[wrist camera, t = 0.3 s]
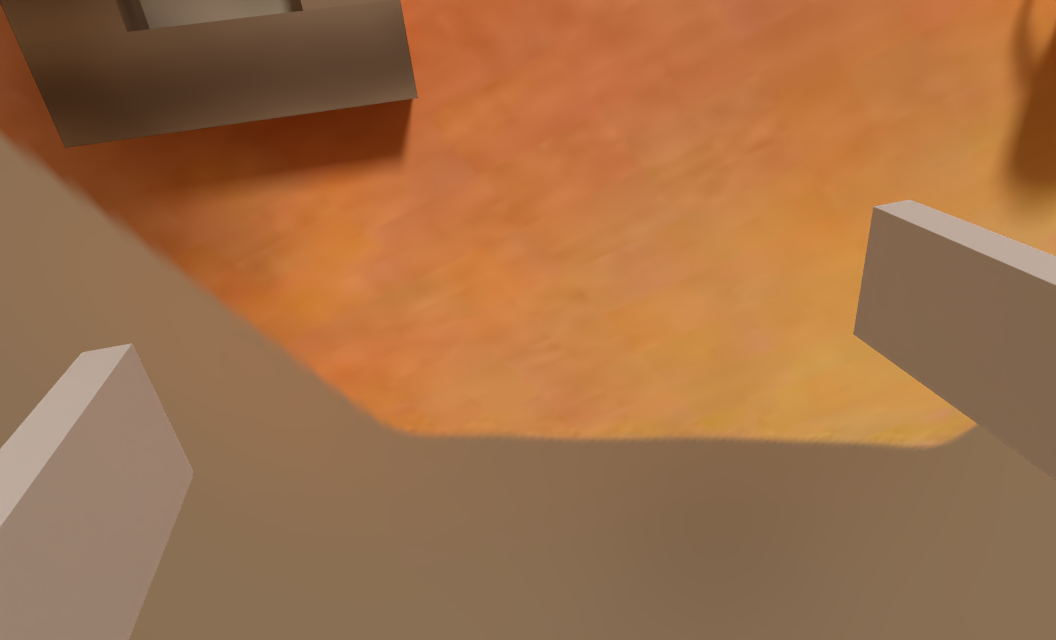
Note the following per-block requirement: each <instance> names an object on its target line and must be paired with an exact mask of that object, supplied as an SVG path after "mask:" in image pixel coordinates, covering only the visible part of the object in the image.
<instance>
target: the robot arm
mask: <svg viewBox="0 0 1056 640" xmlns="http://www.w3.org/2000/svg"><path fill="white" fill-rule="evenodd" d="M854 335H855V336H857V337H858V338H860V339H861V340H862V341H864V342H865V343H866V344H868V345H869V346H871V347H872V348H873V349H875V350H876V351H878V352H879V353H880V354H882V355H883V356H884V357H886V358H887V359H889V360H890V361H891V362H893V363H894V364H896V365H897V366H898V367H900V368H901V369H902V370H904V371H905V372H907V373H908V374H909V375H911V376H912V377H914V378H915V379H916V380H918V381H919V382H921V383H922V384H923V385H925V386H926V387H927V388H929V389H930V390H932V391H933V392H934V393H936V394H937V395H939V396H940V397H941V398H943V399H944V400H945V401H947V402H948V403H950V404H951V405H952V406H954V407H955V408H957V409H958V410H959V411H961V412H962V413H963V414H965V415H966V416H968V417H969V418H970V419H972V420H973V421H975V422H976V423H977V424H979V425H980V426H981V427H983V428H984V429H986V430H987V431H989V432H990V433H991V434H993V435H994V436H995V437H997V438H998V439H1000V440H1001V441H1002V442H1004V443H1005V444H1007V445H1008V446H1009V447H1011V448H1013V450H1015V451H1016V452H1018V453H1019V454H1020V455H1022V456H1023V457H1024V458H1026V459H1027V460H1029V461H1030V462H1032V463H1033V464H1034V465H1035V466H1037V467H1038V468H1040V469H1041V470H1042V471H1044V472H1045V473H1047V474H1048V475H1049V476H1051V477H1052V478H1054V479H1055V480H1056V256H1054V255H1051V254H1049V253H1046V252H1044V251H1041V250H1039V249H1036V248H1033V247H1031V246H1028V245H1026V244H1023V243H1021V242H1018V241H1015V240H1013V239H1010V238H1008V237H1005V236H1003V235H1000V234H997V233H995V232H992V231H990V230H987V229H985V228H982V227H979V226H977V225H974V224H972V223H969V222H967V221H964V220H961V219H959V218H956V217H954V216H951V215H949V214H946V213H943V212H941V211H938V210H936V209H933V208H931V207H928V206H925V205H923V204H920V203H918V202H915V201H913V200H906V201H901V202H895V203H890V204H885V205H879V206H874V207H873V214H872V220H871V226H870V233H869V239H868V245H867V252H866V258H865V264H864V271H863V277H862V283H861V290H860V296H859V302H858V309H857V315H856V321H855V328H854ZM193 475H194V472H193V470H192V468H191V466H190V463H189V461H188V459H187V457H186V455H185V453H184V451H183V449H182V447H181V444H180V442H179V440H178V438H177V436H176V434H175V432H174V430H173V428H172V425H171V423H170V421H169V419H168V417H167V415H166V413H165V411H164V409H163V407H162V405H161V402H160V400H159V398H158V396H157V394H156V392H155V390H154V388H153V385H152V383H151V381H150V379H149V377H148V375H147V373H146V371H145V369H144V367H143V364H142V362H141V360H140V358H139V356H138V354H137V352H136V350H135V348H134V345H133V344H132V343H131V344H125V345H120V346H114V347H109V348H103V349H98V350H93V351H87V352H82V353H81V354H80V355H79V357H78V358H77V359H76V360H75V361H74V362H73V363H72V364H71V366H70V367H69V368H68V369H67V371H66V372H65V373H64V374H63V375H62V376H61V378H60V379H59V380H58V381H57V382H56V384H55V385H54V386H53V387H52V388H51V390H50V391H49V392H48V393H47V394H46V395H45V397H44V398H43V399H42V400H41V401H40V403H39V404H38V405H37V406H36V407H35V408H34V410H33V411H32V412H31V413H30V415H29V416H28V417H27V418H26V419H25V420H24V422H23V423H22V424H21V425H20V426H19V427H18V429H17V430H16V431H15V432H14V433H13V435H12V436H11V437H10V438H9V439H8V440H7V442H6V443H5V444H4V445H3V446H2V448H1V449H0V640H129V637H130V635H131V633H132V630H133V628H134V625H135V623H136V620H137V618H138V615H139V612H140V610H141V607H142V605H143V602H144V599H145V597H146V595H147V592H148V590H149V587H150V584H151V582H152V579H153V577H154V574H155V572H156V569H157V567H158V564H159V562H160V559H161V557H162V554H163V552H164V549H165V547H166V544H167V541H168V539H169V536H170V534H171V531H172V528H173V526H174V524H175V521H176V519H177V516H178V514H179V511H180V508H181V506H182V503H183V501H184V498H185V496H186V493H187V491H188V488H189V486H190V483H191V481H192V478H193Z"/></svg>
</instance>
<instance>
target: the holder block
mask: <svg viewBox="0 0 1056 640" xmlns="http://www.w3.org/2000/svg"><path fill="white" fill-rule="evenodd" d="M0 3H1V5H2V8H3V10H4V12H5V14H6V17H7V19H8V21H9V23H10V26H11V28H12V30H13V32H14V35H15V37H16V39H17V41H18V43H19V46H20V48H21V50H22V52H23V55H24V57H25V59H26V61H27V64H28V66H29V68H30V70H31V73H32V75H33V77H34V79H35V81H36V84H37V86H38V88H39V90H40V93H41V95H42V97H43V99H44V102H45V104H46V106H47V108H48V111H49V113H50V115H51V117H52V120H53V122H54V124H55V126H56V128H57V131H58V133H59V135H60V137H61V140H62V142H63V144H64V146H65V148H67V147H74V146H81V145H88V144H96V143H103V142H110V141H117V140H124V139H131V138H138V137H145V136H152V135H159V134H166V133H173V132H181V131H188V130H195V129H202V128H209V127H216V126H223V125H230V124H237V123H244V122H251V121H258V120H265V119H273V118H280V117H287V116H294V115H301V114H308V113H315V112H322V111H329V110H336V109H343V108H350V107H358V106H365V105H372V104H379V103H386V102H393V101H400V100H407V99H414V98H418V96H417V91H416V85H415V80H414V74H413V69H412V63H411V57H410V52H409V46H408V41H407V35H406V30H405V24H404V19H403V13H402V7H401V2H400V0H0Z"/></svg>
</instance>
